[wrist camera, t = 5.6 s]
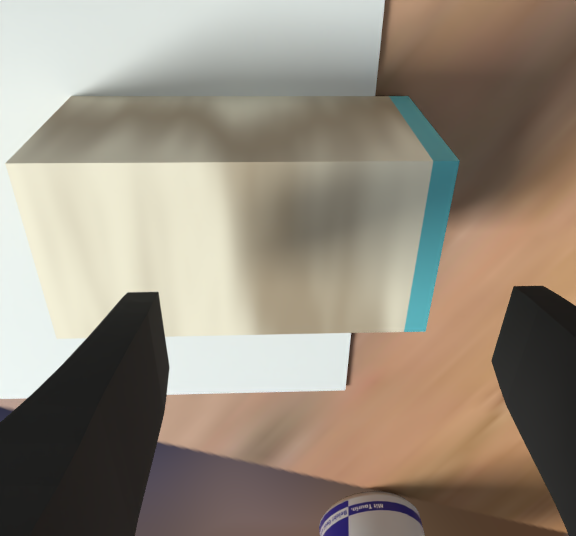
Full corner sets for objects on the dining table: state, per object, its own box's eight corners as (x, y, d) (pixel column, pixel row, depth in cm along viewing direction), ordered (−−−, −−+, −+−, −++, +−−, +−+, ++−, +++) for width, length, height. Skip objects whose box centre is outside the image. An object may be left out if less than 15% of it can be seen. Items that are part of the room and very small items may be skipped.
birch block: (459, 160, 12) (5, 163, 12) (425, 331, 15) (56, 338, 15) (408, 96, 16) (71, 96, 16) (389, 239, 19) (101, 242, 19)
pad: (407, -239, 12) (409, -241, 12) (344, 386, 23) (345, 390, 23) (-534, -266, 11) (-545, -269, 11) (-136, 398, 23) (-139, 402, 22)
